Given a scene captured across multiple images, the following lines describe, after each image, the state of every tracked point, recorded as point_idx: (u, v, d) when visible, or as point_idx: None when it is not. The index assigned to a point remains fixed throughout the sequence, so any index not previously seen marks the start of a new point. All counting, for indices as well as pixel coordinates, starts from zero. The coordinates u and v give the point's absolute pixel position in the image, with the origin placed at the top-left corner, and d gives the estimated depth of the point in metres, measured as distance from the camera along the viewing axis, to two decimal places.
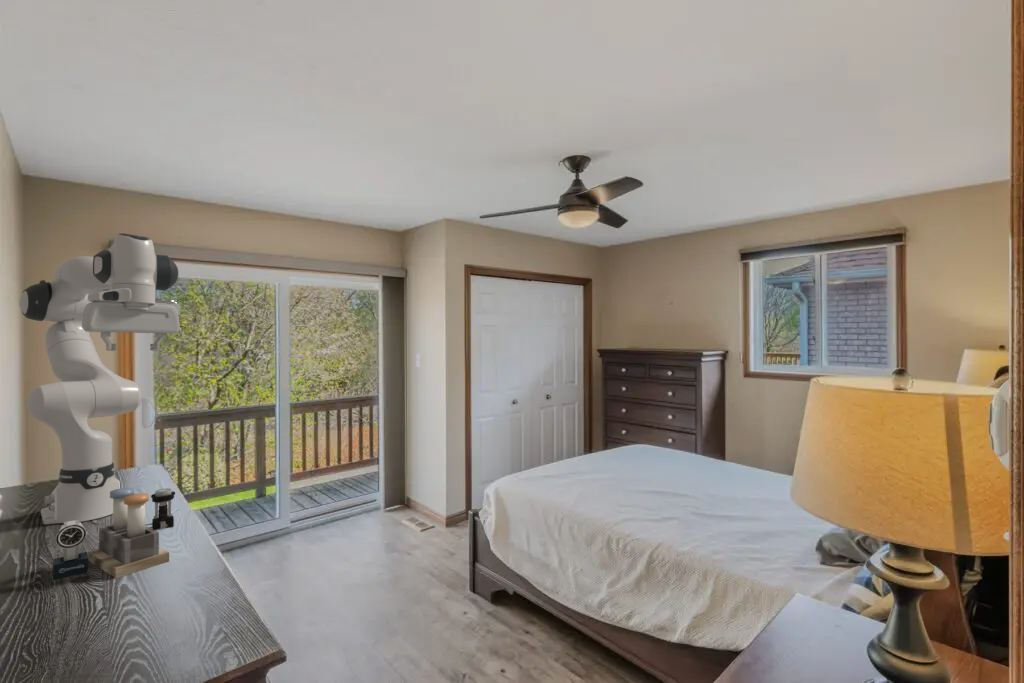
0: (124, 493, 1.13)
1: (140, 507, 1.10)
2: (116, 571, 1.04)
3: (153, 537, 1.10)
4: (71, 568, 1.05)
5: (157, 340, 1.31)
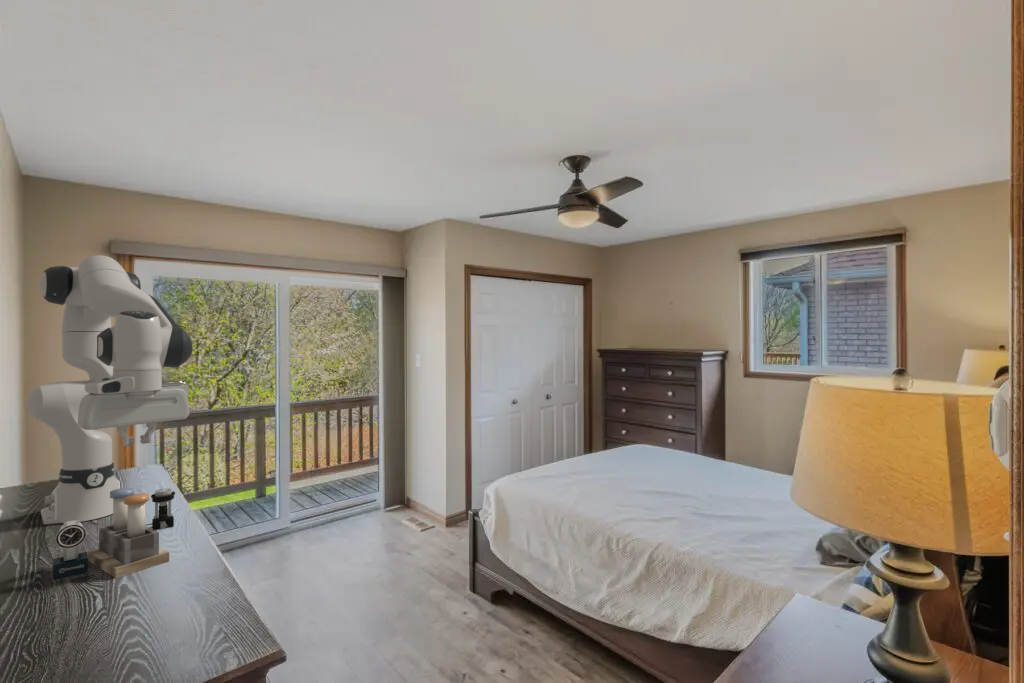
0: (124, 493, 1.13)
1: (140, 507, 1.10)
2: (116, 571, 1.04)
3: (153, 537, 1.10)
4: (71, 568, 1.05)
5: (148, 431, 1.12)
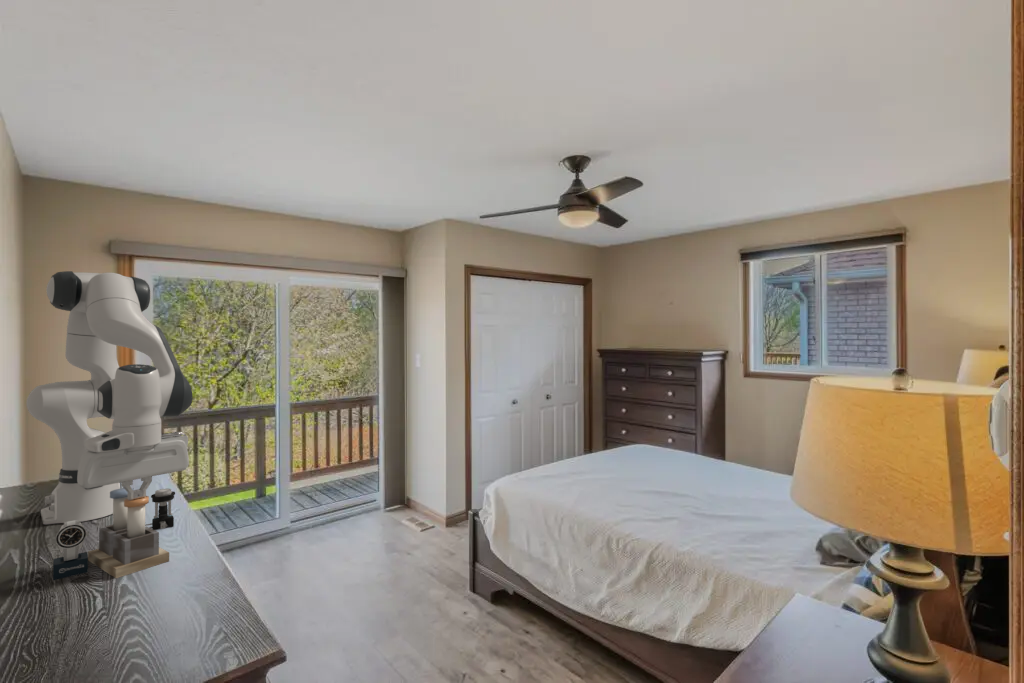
0: (124, 493, 1.13)
1: (140, 509, 1.10)
2: (116, 571, 1.04)
3: (153, 537, 1.10)
4: (71, 568, 1.05)
5: (143, 485, 1.11)
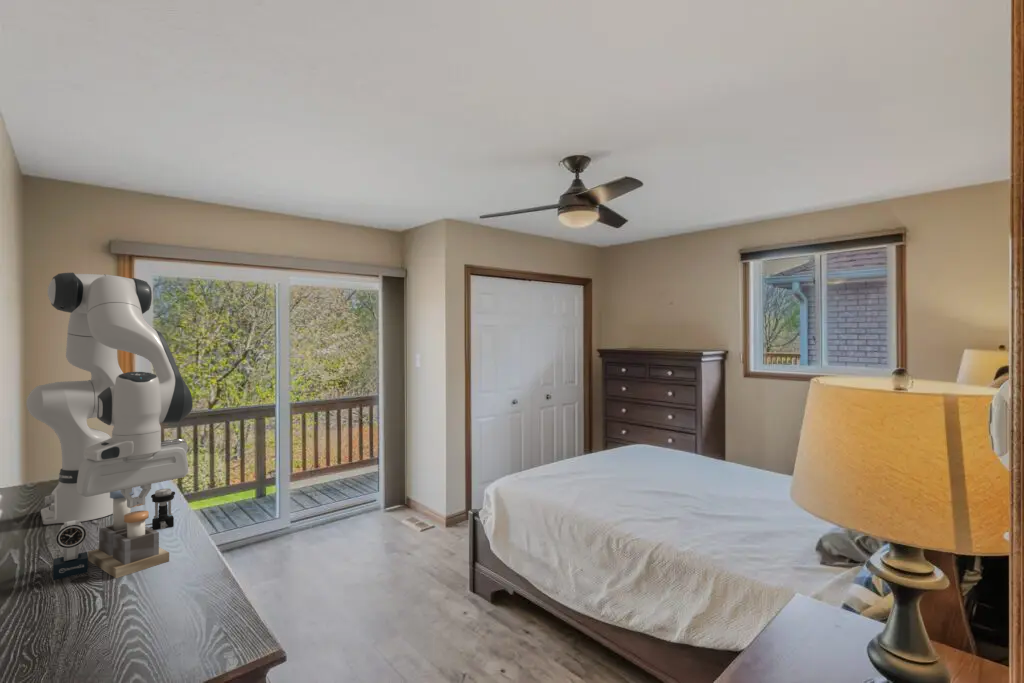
0: None
1: (140, 524, 1.10)
2: (116, 571, 1.04)
3: (153, 537, 1.10)
4: (71, 568, 1.05)
5: (143, 492, 1.12)
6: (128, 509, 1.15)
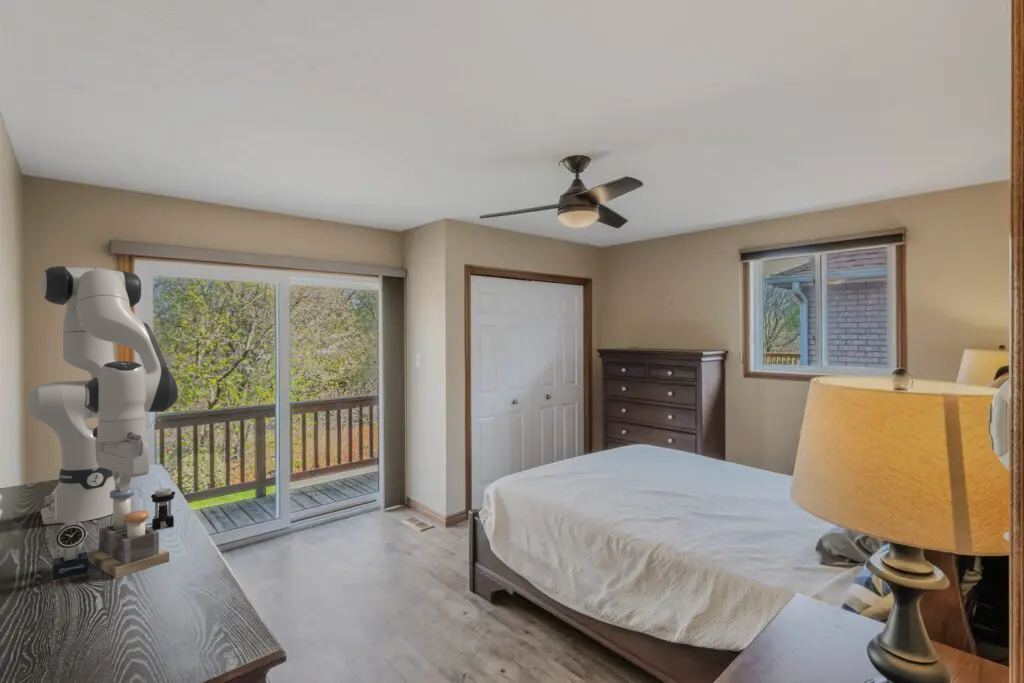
0: (124, 493, 1.13)
1: (140, 524, 1.10)
2: (116, 571, 1.04)
3: (153, 537, 1.10)
4: (71, 568, 1.05)
5: None
6: (128, 509, 1.15)
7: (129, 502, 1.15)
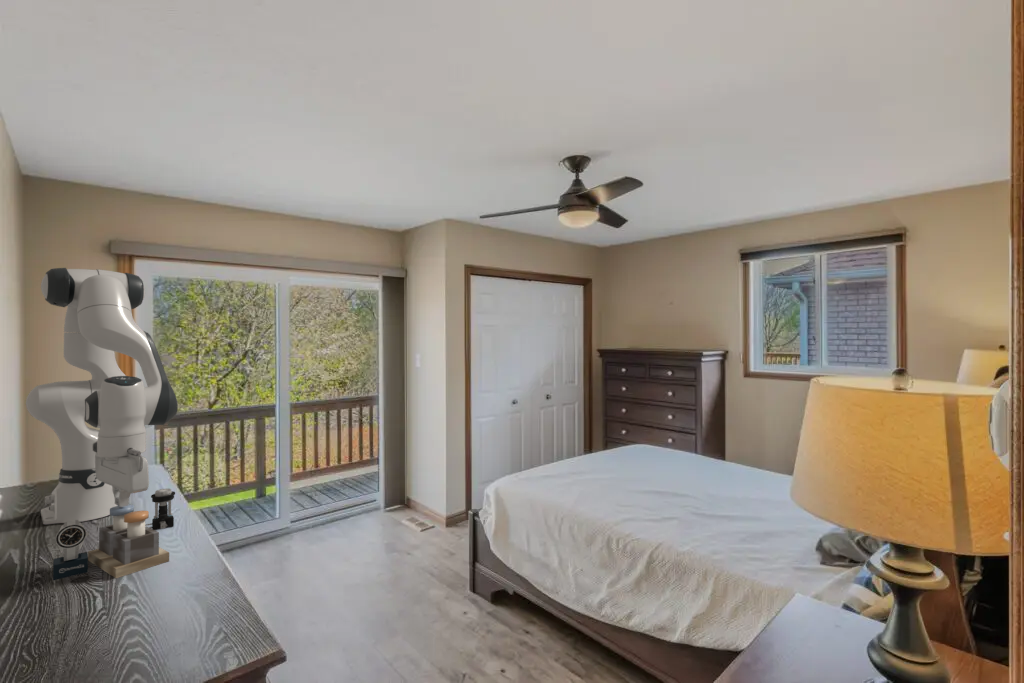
0: (124, 510, 1.13)
1: (140, 524, 1.10)
2: (116, 571, 1.04)
3: (153, 537, 1.10)
4: (71, 568, 1.05)
5: None
6: None
7: None
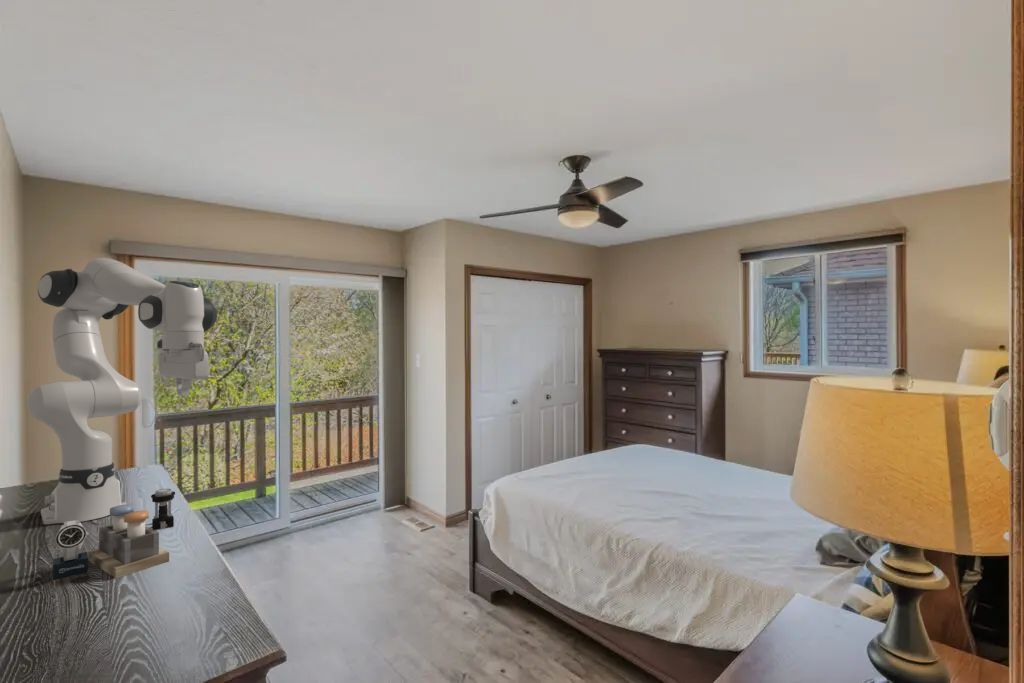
0: (124, 510, 1.13)
1: (140, 524, 1.10)
2: (116, 571, 1.04)
3: (153, 537, 1.10)
4: (71, 568, 1.05)
5: None
6: None
7: None
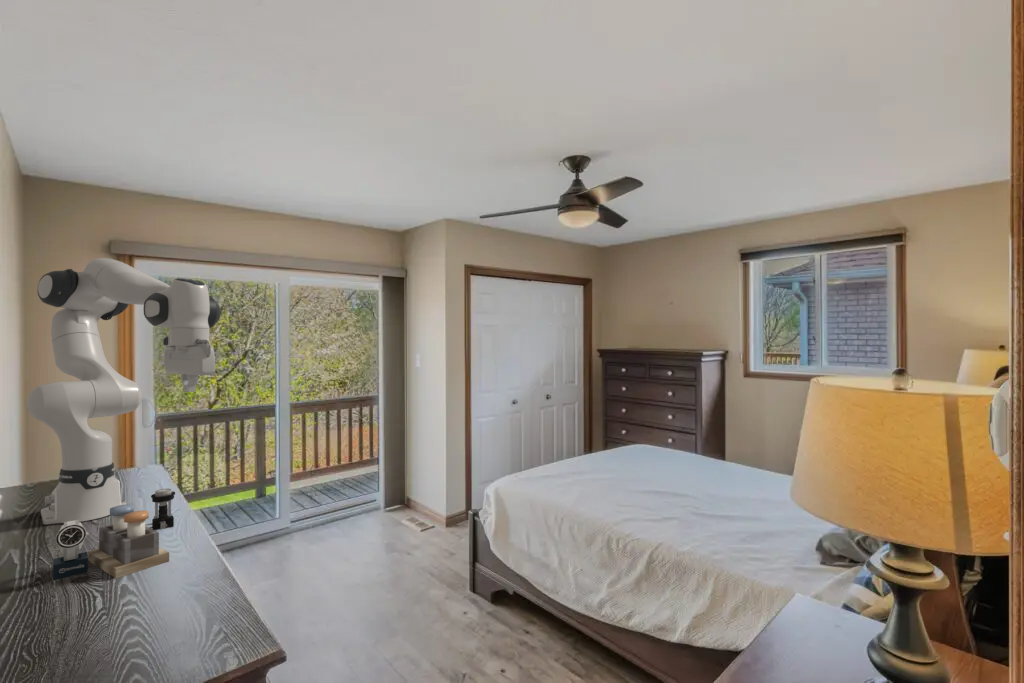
0: (124, 510, 1.13)
1: (140, 524, 1.10)
2: (116, 571, 1.04)
3: (153, 537, 1.10)
4: (71, 568, 1.05)
5: None
6: None
7: None
